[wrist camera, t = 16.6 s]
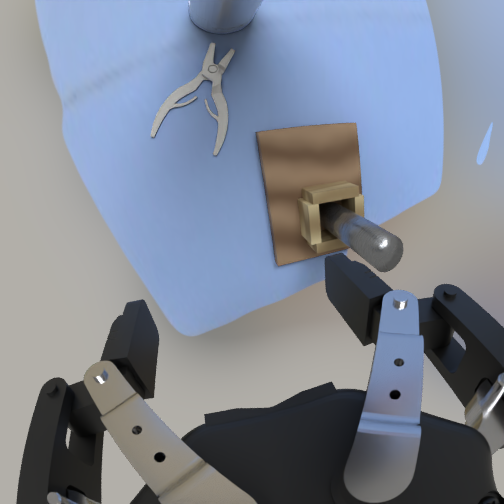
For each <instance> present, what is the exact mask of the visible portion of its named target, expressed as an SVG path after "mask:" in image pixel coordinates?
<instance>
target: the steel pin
mask: <svg viewBox="0 0 504 504" xmlns="http://www.w3.org/2000/svg"><path fill="white" fill-rule="evenodd" d="M319 215H320V225H321V226H323V227H324V228H325V229H327V230H328V231H329V232H331V233H332V234H333V235H334V236H336V237H337V238H338V239H340V240H341V241H342V242H343V243H345V244H346V245H347V246H348V247H350V248H351V249H352V250H354V251H355V252H356V253H357V254H359V255H360V256H361V257H362V258H363V259H365V260H366V261H367V262H369V263H370V264H371V265H372V266H373V267H374V268H376V269H377V270H378V271H380V272H387V271H390V270H392V269H393V268H394V267H395V266H396V265H397V264H398V263H399V261H400V259H401V257H402V254H403V243H402V241H401V240H400V239H399V238H398V237H397V236H395V235H393V234H391V233H390V232H388V231H386V230H385V229H383V228H381V227H379V226H378V225H376V224H374V223H372V222H371V221H369V220H367V219H365V218H363V217H362V216H360V215H358V214H356V213H354V212H352V211H351V210H349V209H347V208H345V207H343V206H341V205H339V204H337V203H335V202H333V201H331V202H326V203H321V204H319Z"/></svg>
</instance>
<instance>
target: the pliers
mask: <svg viewBox="0 0 504 504" xmlns="http://www.w3.org/2000/svg"><path fill="white" fill-rule="evenodd" d="M214 50H215V43H211V44H210V46H209V49H208V51H207V54H206V57H205V59H204V62H203V67H202V71H201V72H200V73H199V74H198V75H197V77H196V78H194V79H193V80H192V81H190V82H189V83H187V84H185V85H183V86H181V87H179V88H178V89H176V90H175V91H174V92H173V93H172V94H171V95H170V96H169V97H168V98H167V99H166V100H165V102H164V103H163V105H162V106H161V108H160V109H159V111H158V113H157V115H156V117H155V120H154V123H153V127H152V131H151V137H155V134H156V132H157V130H158V128H159V126H160V124H161V122H162V120H163V119H164V117H165V116H166V114H167V113H168V111H169V110H170V109H171V108H174V107H181V106H184V105H187V104H189V103H190V102H192V101H193V100H195V99H196V98H197V96H195V97H194V98H192V99H191V100H189V101H188V102H185V103H182V104H175V103H176V102H177V101H178V100H179V99H181V98H182V97H184V96H185V95H187V94H189V93H191V92H193V91H195V90H196V89H197V87H198V86H199V85H200V84H201V82H202V81H203V80H210V81H212V82H213V84H212V93H211V96H212V98H213V100H214V102H215V105H216V108H217V110H218V116H217V115H215V114H213V113H212V111H211V110H210V109H209V106H208V104H207V99H205V104H206V107H207V110H208V112H209V113H210V115H211V116H212V117H214V118H215V119H216V120H217V122H218V133H217V139H216V144H215V149H214V152H213V155H217V154H218V152H219V150H220V148H221V146H222V144H223V141H224V138H225V135H226V131H227V125H228V108H227V103H226V100H225V98H224V96H223V94H222V90H221V78H222V76H221V75H222V74H223V73H224V71H225V69H226V67H227V66H228V64H229V62H230V60H231V58H232V56H233V54H234V52H235V50H233V49H231V50H230V51H229V52H228V53H227V54H226V55H225V56H224V58H223V59H222V60H221V61H220V62H219V64H218V65H216V64H214V63H213V58H214Z"/></svg>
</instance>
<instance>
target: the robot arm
mask: <svg viewBox="0 0 504 504" xmlns="http://www.w3.org/2000/svg"><path fill="white" fill-rule="evenodd" d="M262 1H263V0H189V14H190V17H191V20H192V21H193V22H194V24H195V25H197V26H198V27H199V28H201V29H203V30H205V31H207V32H211V33H217V34H227V33H232V32H236V31H238V30H241V29H242V28H244V27H246V26H247V25H248V24H249V23H250V22H251V20H252V19H253V17H254V15H255V13H256V11H257V10H258V8H259V6H260V4H261V3H262ZM325 283H326V284H325V285H326V292H327V296H328V298H329V300H330V301H331V303H332V304H333V305H334V306H335V308H336V309H337V311H338V312H339V313H340V315H341V316H342V317H343V319H344V320H345V321H346V323H347V324H348V325H349V327H350V328H351V329H352V330H353V332H354V333H355V335H356V336H357V338H358V339H359V340H360V341H361V343H362V344H363V346H366V345H368V344H371V343H374V344H375V345H376V347H375V352H374V357H373V362H372V368H371V372H370V377H369V382H368V386H367V390H366V391H363V390H357V389H337V390H336V389H335V387H334V385H333V383H332V382H329V383H326V384H323V385H320V386H317V387H314V388H311V389H308V390H305V391H302V392H300V393H298V394H296V395H295V396H293V397H291V398H289V399H287V400H285V401H283V402H281V403H279V404H277V405H275V406H273V407H270V408H240V409H239V408H236V409H231V410H226V411H220V412H215V413H209V414H204V415H205V424H202V425H201V426H198V427H196V428H194V429H193V430H191V431H190V432H188V433H187V434H186V435H185V436H184V437H182V439H180V438H179V437H178V436H177V435H176V434H175V433H174V432H173V431H172V430H171V429H170V428H169V427H168V426H167V425H166V424H165V423H164V422H163V421H162V420H161V419H160V418H159V417H158V416H157V414H156V413H155V412H154V411H153V410H152V409H151V408H150V407H149V406H148V405H147V404H146V402H145V401H144V399H148V398H154V389H155V376H156V365H157V355H158V346H159V334H158V330H157V327H156V325H155V323H154V320H153V318H152V316H151V314H150V311H149V309H148V307H147V304H146V302H145V301H144V300H137V301H133V302H128V303H127V304H126V306H125V309H124V312H123V315H120V316H118V317H117V319H116V320H115V321H114V322H113V324H112V326H111V329H110V333H109V335H108V338H107V339H108V340H107V341H106V344H105V347H104V351H103V354H102V357H101V360H100V362H97V363H95V364H93V365H92V366H91V367H90V368H89V369H88V370H87V371H86V373H85V375H84V380H83V381H80V382H78V383H75V384H72V385H68V384H67V383H66V382H65V380H64V379H62V378H53V379H51V380H49V381H48V382H46V383H45V384H44V386H43V387H42V389H41V391H40V394H39V397H38V400H37V403H36V406H35V410H34V413H33V417H32V421H31V424H30V428H29V432H28V436H27V440H26V444H25V449H24V454H23V459H22V464H21V470H20V477H19V484H18V493H17V504H101V470H102V450H103V437H104V431H106V430H108V432H109V433H110V435H111V436H112V437H113V439H114V441H115V442H116V444H117V445H118V447H119V448H120V450H121V451H122V452H123V454H124V455H125V457H126V458H127V459H128V461H129V462H130V463H131V465H132V466H133V467H134V469H135V470H136V471H137V472H138V473H139V475H140V476H141V477H142V479H143V480H144V481H145V482H146V484H145V485H144V487H143V488H142V489H141V490H140V492H139V493H138V494H137V496H136V497H135V498H134V499H133V500H132V501H131V503H130V504H504V498H503V497H502V496H501V495H500V494H499V493H498V491H497V489H496V486H495V482H494V477H493V470H492V454H494V453H495V452H496V451H497V450H498V449H502V448H504V328H503V327H502V326H501V325H500V324H499V323H498V322H497V321H496V320H495V319H494V318H493V317H492V316H491V315H490V314H489V313H487V312H486V311H485V310H484V309H483V308H482V307H481V306H480V305H479V304H477V303H476V302H475V301H474V300H473V299H472V298H471V297H469V296H468V295H467V294H466V293H465V292H463V291H462V290H461V289H460V288H458V287H457V286H454V285H450V284H442V285H439V286H437V287H436V288H435V290H434V294H433V297H431V298H423V299H417V298H416V297H415V296H414V295H413V294H412V293H410V292H407V291H404V290H393V289H391V288H390V287H389V286H388V285H387V284H386V283H385V282H384V281H382V280H381V279H380V278H379V277H378V276H376V274H375V273H373V272H371V270H370V269H369V268H368V267H367V266H365V265H364V264H361V263H359V262H356V261H351V260H350V259H348V258H347V257H346V256H345V255H344V254H343V253H339V254H336V255H332V256H328V257H326V258H325ZM454 331H456V332H457V333H458V334H459V335H460V336H461V338H462V339H463V340H464V342H465V344H466V351H465V350H464V349H463V348H462V346H461V345H460V344H459V343H458V342H457V341H456V340H455V339H454V338H453V333H454ZM424 353H425V354H426V356H427V357H428V358H429V359H430V361H431V362H432V363H433V365H434V366H435V367H436V369H437V370H438V371H439V373H440V374H441V375H442V377H443V378H444V379H445V381H446V382H447V383H448V385H449V386H450V387H451V388H452V390H453V391H454V393H455V394H456V396H457V397H458V399H459V400H460V401H461V403H462V404H463V406H464V407H465V420H466V422H465V425H464V424H460V423H457V422H454V421H450V420H447V419H444V418H441V417H437V416H434V415H431V414H428V413H425V412H422V411H421V401H422V387H423V365H424V364H423V363H424ZM67 428H69V429H70V430H71V434H70V441H69V447H68V449H67V446H66V434H67Z"/></svg>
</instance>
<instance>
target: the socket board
mask: <svg viewBox="0 0 504 504" xmlns="http://www.w3.org/2000/svg"><path fill="white" fill-rule="evenodd" d="M256 137H257V143H258V149H259V155H260V162H261V168H262V174H263V180H264V187H265V193H266V200H267V206H268V213H269V220H270V226H271V233H272V240H273V247H274V254H275V261H276V263H277V265H278V266H281V265H285V264H289V263H293V262H297V261H301V260H305V259H309V258H313V257H317V256H321V255H325V254H329V253H333V252H337V251H341V250H344V249H348V248H350V247H348V246H347V245H346V244H345V243H343V242H342V241H341V240H340V239H338V238H337V237H336V236H334V235H333V234H332V233H331V232H329V231H328V230H327V229H325V228H324V227H323V226H321V225H320V215H319V204H321V203H326V202H331V201H333V202H335V203H337V204H339V205H341V206H343V207H345V208H347V209H349V210H351V211H352V212H354V213H356V214H358V215H360V216H362V217H363V218H364V196H363V195H362V186H361V170H360V156H359V145H358V135H357V126H356V123H338V124H323V125H311V126H300V127H291V128H283V129H275V130H267V131H260V132H256Z"/></svg>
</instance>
